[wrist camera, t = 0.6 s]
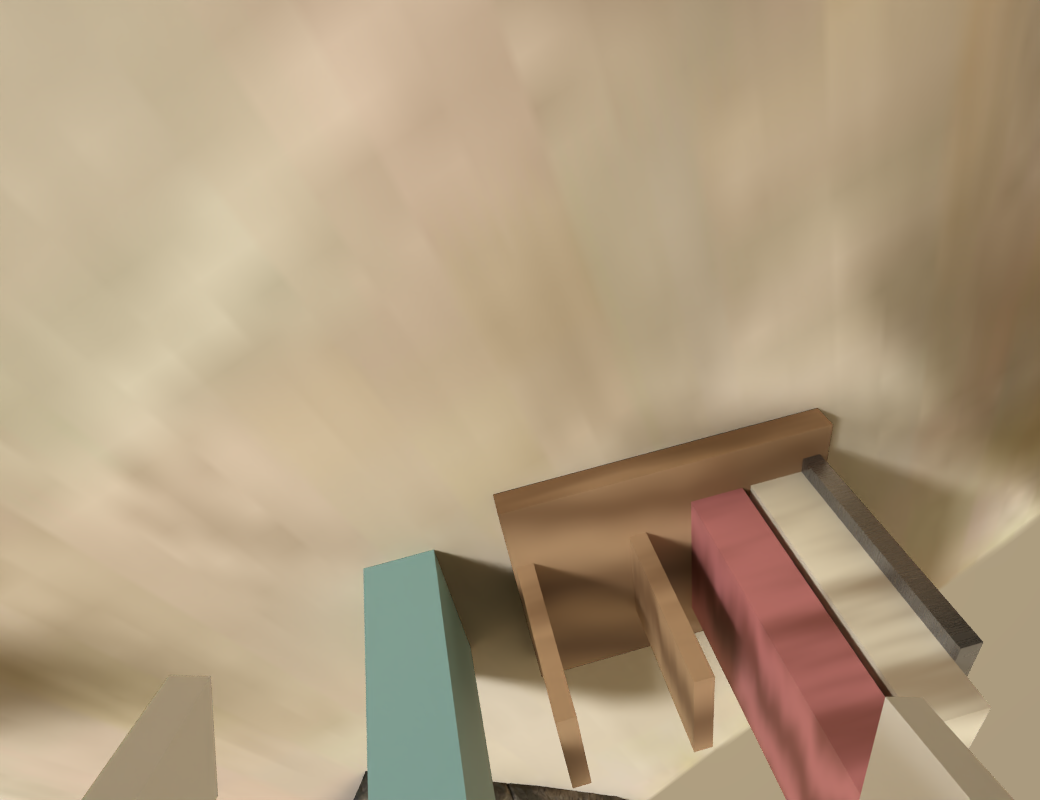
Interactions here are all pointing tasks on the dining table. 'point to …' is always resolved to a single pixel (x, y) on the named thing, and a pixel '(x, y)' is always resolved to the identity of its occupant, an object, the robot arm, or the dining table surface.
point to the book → (420, 689)
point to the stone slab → (516, 792)
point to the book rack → (741, 598)
